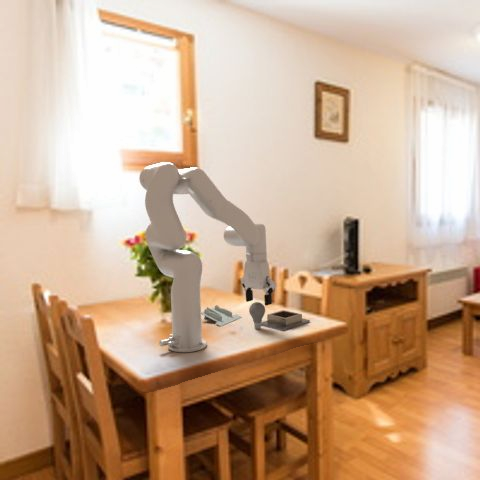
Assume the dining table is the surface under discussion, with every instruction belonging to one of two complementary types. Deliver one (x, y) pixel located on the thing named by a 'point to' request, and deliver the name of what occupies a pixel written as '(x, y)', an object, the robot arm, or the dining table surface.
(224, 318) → the metal bracket
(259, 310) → the light bulb
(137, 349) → the dining table surface
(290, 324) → the grey square socket base
